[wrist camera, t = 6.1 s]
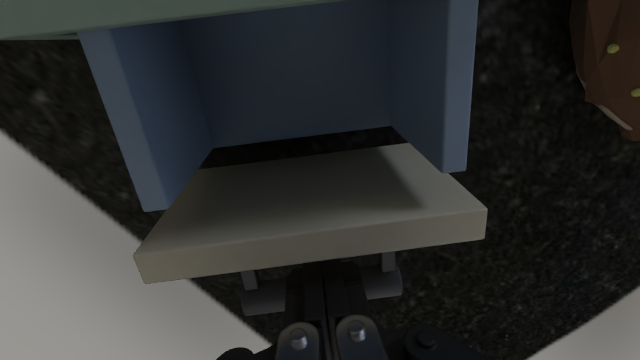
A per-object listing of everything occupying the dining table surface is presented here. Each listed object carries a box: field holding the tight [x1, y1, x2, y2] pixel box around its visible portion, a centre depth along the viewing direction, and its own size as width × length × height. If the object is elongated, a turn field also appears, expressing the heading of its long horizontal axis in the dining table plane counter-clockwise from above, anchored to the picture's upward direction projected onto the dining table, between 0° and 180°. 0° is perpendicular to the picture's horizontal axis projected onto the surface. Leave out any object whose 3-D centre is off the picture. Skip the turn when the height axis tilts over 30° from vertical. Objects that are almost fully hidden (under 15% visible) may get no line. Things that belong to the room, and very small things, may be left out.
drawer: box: [77, 0, 487, 316], centre depth 12 cm, size 18×11×7 cm, turn 6°
